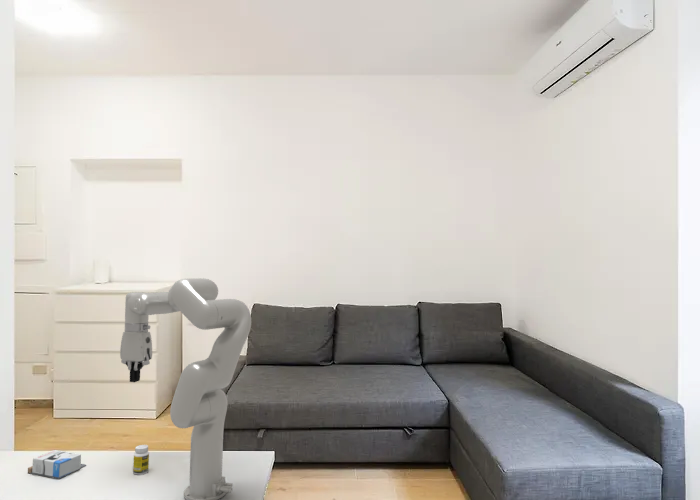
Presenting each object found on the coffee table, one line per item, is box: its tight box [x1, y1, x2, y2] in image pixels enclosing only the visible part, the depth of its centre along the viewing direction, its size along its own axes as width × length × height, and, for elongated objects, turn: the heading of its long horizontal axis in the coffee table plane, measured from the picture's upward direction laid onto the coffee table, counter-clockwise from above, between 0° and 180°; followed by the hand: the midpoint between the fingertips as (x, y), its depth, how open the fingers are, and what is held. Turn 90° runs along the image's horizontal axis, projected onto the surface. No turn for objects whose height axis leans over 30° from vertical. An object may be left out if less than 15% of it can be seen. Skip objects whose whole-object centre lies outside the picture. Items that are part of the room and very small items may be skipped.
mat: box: [27, 463, 87, 480], centre depth 165 cm, size 13×11×2 cm
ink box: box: [32, 449, 82, 479], centre depth 164 cm, size 8×5×12 cm
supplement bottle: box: [132, 444, 150, 476], centre depth 165 cm, size 5×5×8 cm
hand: (134, 381), depth 170 cm, fingers closed
